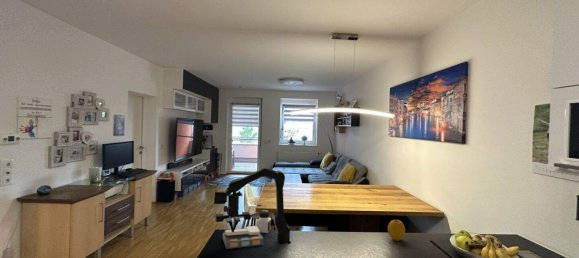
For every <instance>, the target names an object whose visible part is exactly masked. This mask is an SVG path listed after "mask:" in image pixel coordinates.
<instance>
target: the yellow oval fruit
mask: <svg viewBox="0 0 579 258" xmlns="http://www.w3.org/2000/svg"><path fill="white" fill-rule="evenodd" d="M387 232H388V235H389V237H391V238H390V239H392V240H394V241H397V242H398V241H401V240H402V239H403V238H404V237H405V233H406V227H405V225H404V223H403V222H402V221H401V220H399V219H393V220H390V222H389V223H388V225H387Z"/></svg>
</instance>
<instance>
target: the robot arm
mask: <svg viewBox="0 0 579 258" xmlns="http://www.w3.org/2000/svg"><path fill="white" fill-rule="evenodd" d="M263 177H268V178H270V179H272V180H273V181H274V182H273V183H274V186H275V202H276V204H275V205H276V212H275V214H273V223H274V226H275V227H276V229H278V230H277V233H276V242H277V243H278V244H279V245H283V244H290V243H291V240H290V239H291V235H290V234H291V228H290V227H289V224H288V223H287V219H286V217H285V212H284V211H285V207H284V206H285V205H284V186H285V181H286V176H285V174H284V172H283V171H281V170H273V169H270V168H267V167H262V168H260V169H259V170H257V171H254V172H252V173H250V174H248V175H246V176H244V177H239V178H236V179H232V180H230V181H229V182H228V186H227V188H226V189H225V190H224V191H218V190H217V191H216V190H215V191H214V198H213V204H214V205H224V206H223V210H222V211H223V213H226V214H223V213H216V214H215V215H214V220H215V222H216V223H221V222H223V221H226V223H227V224H229V226H230V230H231V231H232V232H234V230H236V228H237V226H238V224H239V223H240V222H241V220H240V219H244V220H245V221H246V220H251V219H252V215H251V213H250V212H249V211H242V212H241V213H240V214H239V211H240V210H239V207H240V205H239V203H240V197H242V196H243V193H242V192H241V191H240V190H241V189H243V188H244V187H245V186H246V185H248V184H251V183H252V182H255V181H256V180H259V179H260V178H263ZM226 203H227V205H225V204H226Z"/></svg>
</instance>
